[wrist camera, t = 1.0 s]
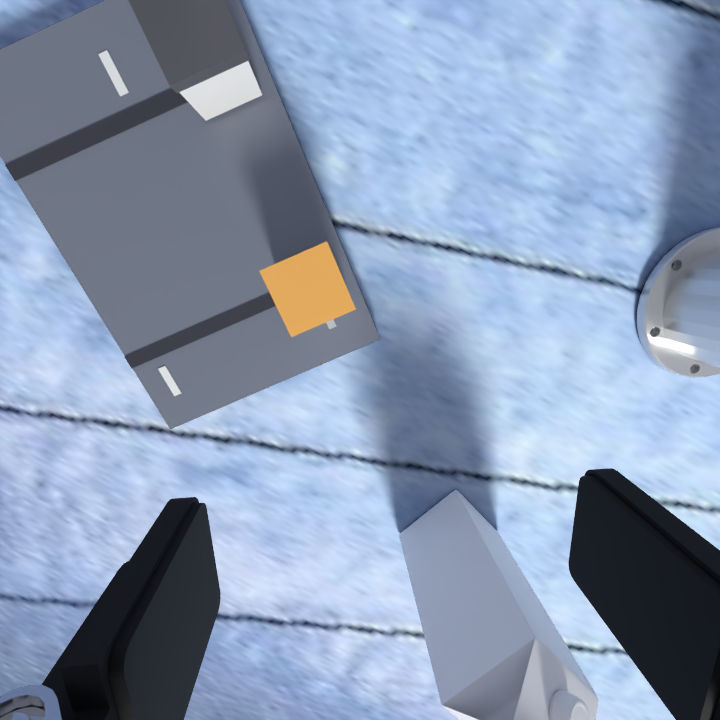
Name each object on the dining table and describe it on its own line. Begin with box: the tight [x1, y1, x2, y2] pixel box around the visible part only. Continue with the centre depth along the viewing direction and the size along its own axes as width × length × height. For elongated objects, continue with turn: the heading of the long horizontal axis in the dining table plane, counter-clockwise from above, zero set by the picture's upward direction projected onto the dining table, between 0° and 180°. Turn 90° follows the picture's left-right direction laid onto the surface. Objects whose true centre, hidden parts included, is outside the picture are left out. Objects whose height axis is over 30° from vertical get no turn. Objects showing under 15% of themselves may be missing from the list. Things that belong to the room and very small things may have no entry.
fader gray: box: [128, 0, 262, 121], centre depth 22 cm, size 4×4×6 cm
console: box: [0, 0, 380, 429], centre depth 28 cm, size 18×26×2 cm
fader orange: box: [259, 241, 356, 337], centre depth 26 cm, size 4×4×6 cm
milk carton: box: [399, 489, 598, 720], centre depth 29 cm, size 7×7×19 cm
